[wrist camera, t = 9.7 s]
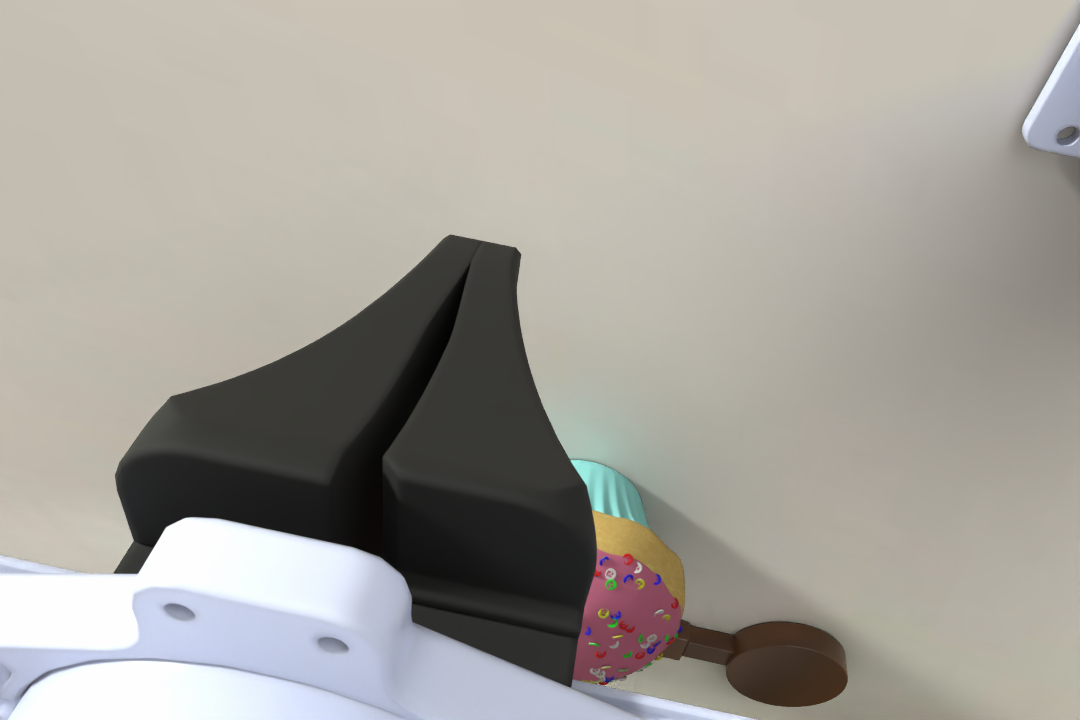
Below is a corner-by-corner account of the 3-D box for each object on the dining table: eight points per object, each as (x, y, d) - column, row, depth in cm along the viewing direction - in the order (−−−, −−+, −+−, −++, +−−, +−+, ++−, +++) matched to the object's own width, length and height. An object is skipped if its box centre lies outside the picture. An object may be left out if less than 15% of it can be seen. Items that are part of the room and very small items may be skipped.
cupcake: (624, 585, 37) (593, 891, 28) (445, 513, 36) (353, 811, 27) (731, 477, 32) (733, 817, 23) (524, 387, 30) (440, 710, 21)
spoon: (863, 636, 37) (866, 662, 36) (820, 692, 41) (822, 717, 40) (365, 528, 38) (356, 550, 37) (365, 592, 41) (358, 614, 40)
